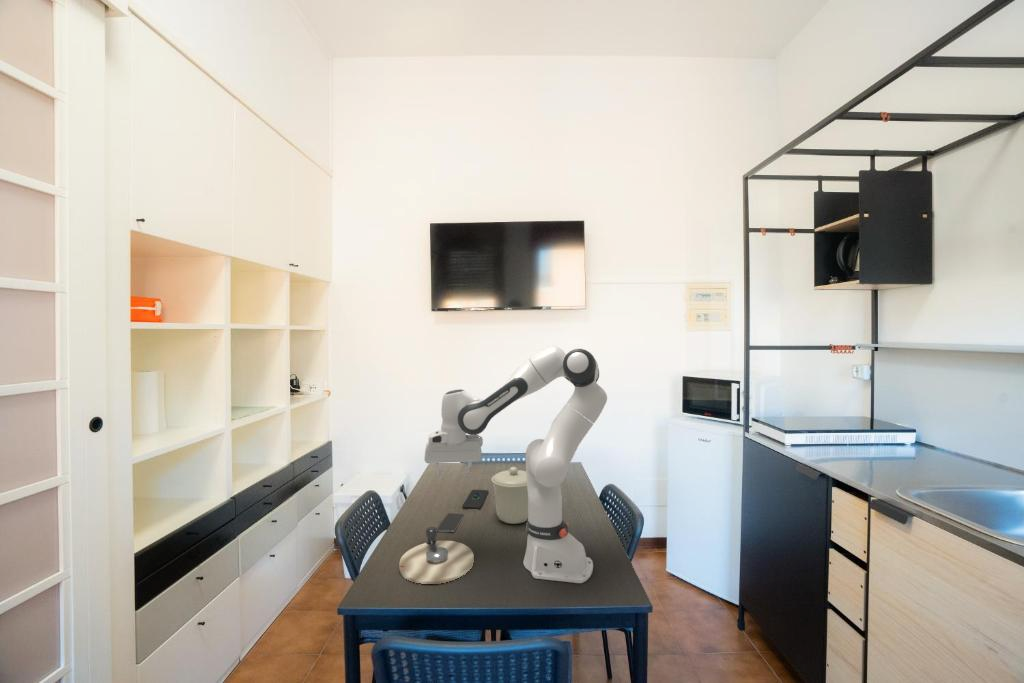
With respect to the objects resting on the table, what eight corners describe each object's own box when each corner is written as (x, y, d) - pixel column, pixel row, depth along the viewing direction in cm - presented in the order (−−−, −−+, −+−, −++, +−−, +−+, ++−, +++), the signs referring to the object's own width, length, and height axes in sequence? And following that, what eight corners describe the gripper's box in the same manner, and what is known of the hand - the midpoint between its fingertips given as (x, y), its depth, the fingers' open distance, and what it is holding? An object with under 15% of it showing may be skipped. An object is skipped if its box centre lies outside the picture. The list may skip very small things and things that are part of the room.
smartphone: (464, 513, 173) (454, 530, 157) (464, 516, 173) (454, 533, 157) (447, 512, 174) (435, 529, 158) (447, 515, 174) (435, 532, 158)
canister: (532, 530, 158) (532, 475, 158) (486, 526, 162) (486, 473, 162) (538, 511, 176) (538, 461, 176) (497, 507, 180) (497, 459, 179)
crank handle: (450, 560, 134) (450, 543, 134) (428, 565, 132) (428, 548, 131) (440, 540, 147) (440, 525, 147) (420, 544, 145) (420, 528, 145)
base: (486, 552, 143) (486, 547, 143) (450, 592, 121) (449, 586, 121) (427, 539, 152) (426, 535, 152) (383, 574, 130) (383, 569, 130)
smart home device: (488, 489, 197) (480, 507, 177) (489, 493, 197) (480, 511, 177) (471, 489, 198) (461, 506, 178) (471, 492, 198) (461, 510, 179)
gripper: (481, 432, 152) (481, 469, 152) (425, 434, 149) (424, 472, 149) (483, 436, 146) (483, 475, 146) (424, 438, 142) (424, 478, 143)
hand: (453, 474), depth 147 cm, fingers open, 8 cm apart
